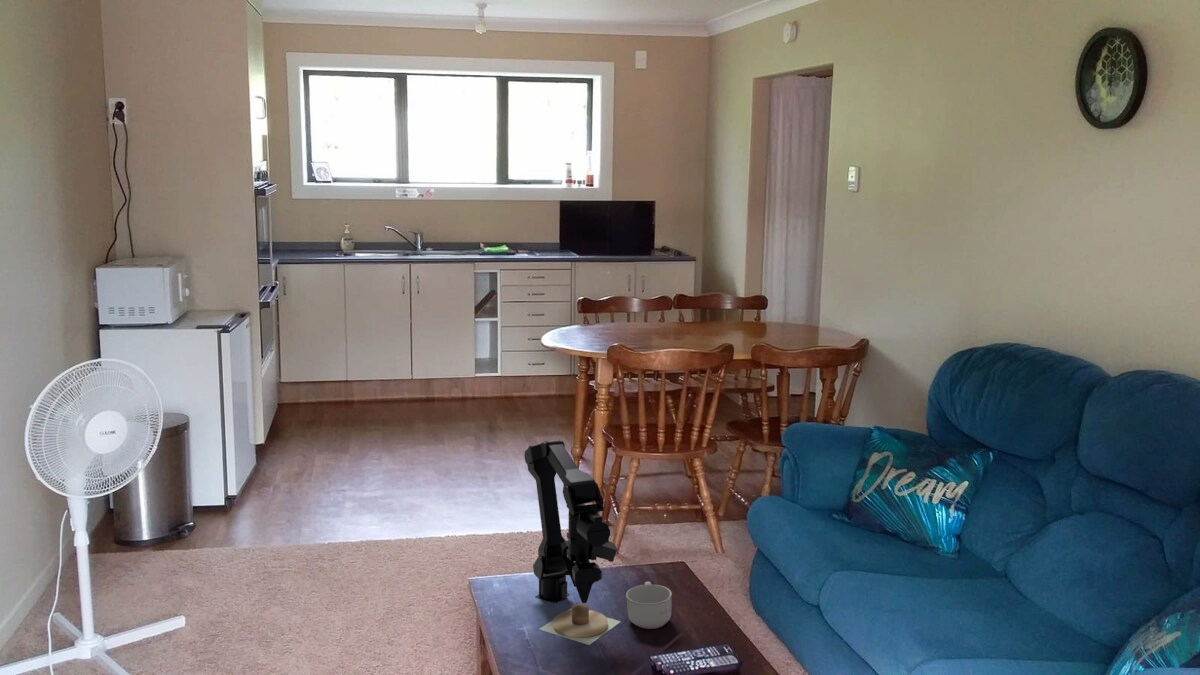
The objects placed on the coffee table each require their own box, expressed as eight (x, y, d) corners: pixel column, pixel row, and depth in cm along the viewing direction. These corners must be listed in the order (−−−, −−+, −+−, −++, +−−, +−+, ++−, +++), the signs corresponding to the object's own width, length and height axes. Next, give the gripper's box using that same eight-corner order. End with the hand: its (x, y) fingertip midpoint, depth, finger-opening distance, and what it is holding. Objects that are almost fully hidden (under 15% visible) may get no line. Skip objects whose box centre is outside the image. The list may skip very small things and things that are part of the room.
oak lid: (541, 629, 229) (541, 611, 229) (572, 608, 240) (572, 591, 239) (588, 643, 222) (588, 624, 222) (618, 621, 233) (618, 603, 233)
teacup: (668, 636, 227) (668, 604, 226) (622, 632, 229) (622, 599, 228) (675, 610, 241) (676, 580, 240) (632, 606, 243) (632, 576, 242)
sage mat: (538, 631, 229) (538, 629, 229) (572, 609, 241) (572, 607, 241) (589, 647, 222) (589, 644, 222) (620, 623, 234) (620, 621, 233)
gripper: (624, 543, 220) (623, 608, 223) (605, 515, 238) (604, 575, 241) (575, 547, 218) (575, 613, 221) (560, 518, 236) (560, 579, 238)
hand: (580, 594), depth 230 cm, fingers open, 9 cm apart
